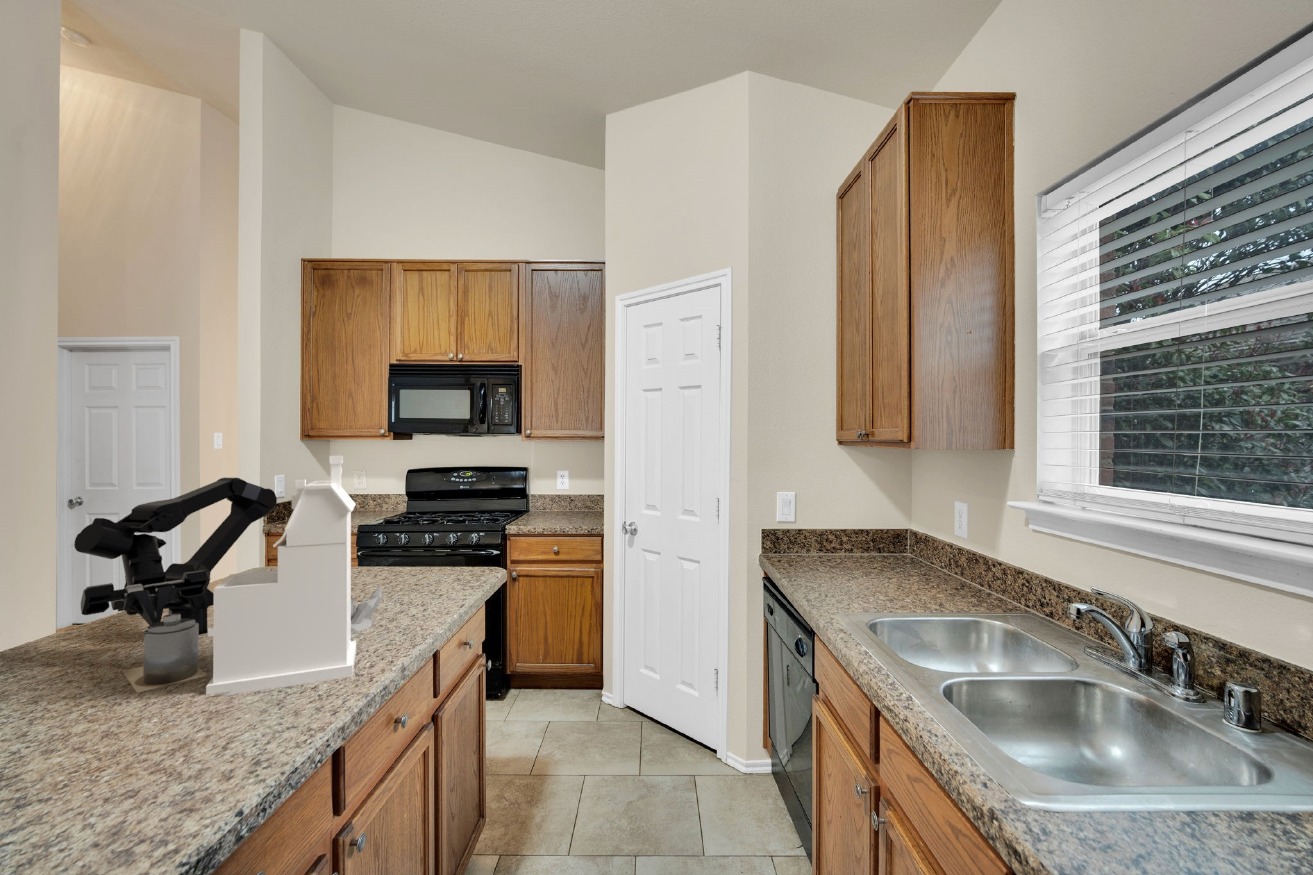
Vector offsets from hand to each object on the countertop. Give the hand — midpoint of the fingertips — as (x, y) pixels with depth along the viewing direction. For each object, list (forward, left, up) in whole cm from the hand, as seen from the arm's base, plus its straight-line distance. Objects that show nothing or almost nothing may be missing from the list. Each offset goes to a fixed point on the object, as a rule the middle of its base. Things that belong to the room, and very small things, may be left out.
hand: (156, 627), depth 112 cm
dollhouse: (-15, +22, -8) cm, 28 cm away
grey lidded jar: (0, +10, -7) cm, 12 cm away
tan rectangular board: (0, +7, -7) cm, 10 cm away
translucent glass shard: (-34, +3, -8) cm, 35 cm away
